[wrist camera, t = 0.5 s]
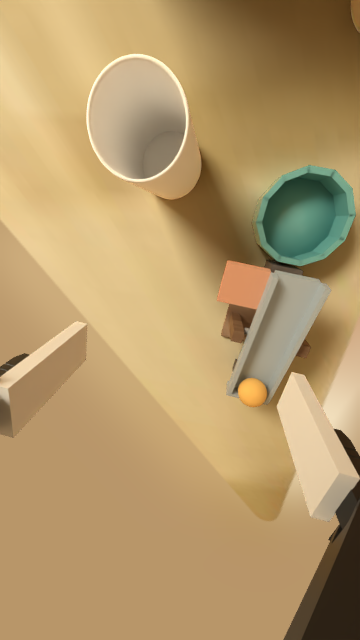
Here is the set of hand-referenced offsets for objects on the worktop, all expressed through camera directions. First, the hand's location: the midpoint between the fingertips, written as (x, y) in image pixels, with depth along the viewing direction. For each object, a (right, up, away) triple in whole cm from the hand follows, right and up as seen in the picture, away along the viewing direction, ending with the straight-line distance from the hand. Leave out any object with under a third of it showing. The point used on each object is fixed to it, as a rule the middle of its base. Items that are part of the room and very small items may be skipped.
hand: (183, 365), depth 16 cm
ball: (+10, -7, +20) cm, 24 cm away
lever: (+10, +1, +19) cm, 22 cm away
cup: (-1, +24, +18) cm, 30 cm away
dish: (+16, +17, +18) cm, 29 cm away
